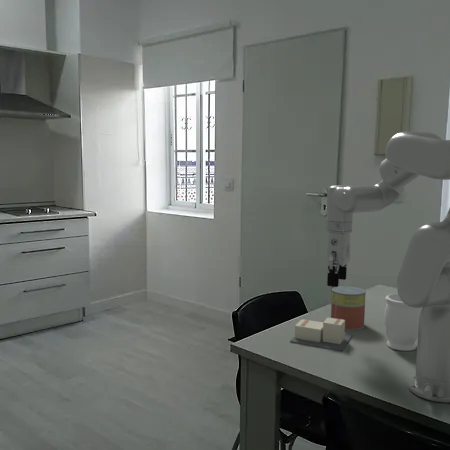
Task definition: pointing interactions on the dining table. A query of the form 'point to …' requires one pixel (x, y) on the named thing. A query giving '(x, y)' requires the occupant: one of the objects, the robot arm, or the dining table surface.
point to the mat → (324, 343)
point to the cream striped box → (309, 330)
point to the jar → (401, 323)
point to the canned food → (349, 306)
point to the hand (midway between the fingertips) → (336, 282)
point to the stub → (333, 330)
